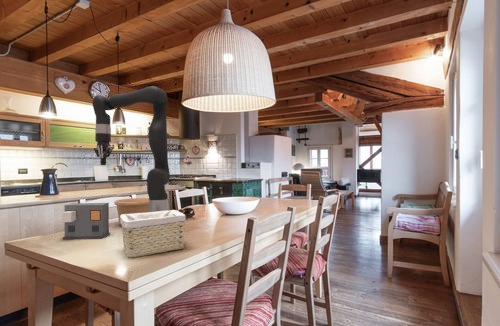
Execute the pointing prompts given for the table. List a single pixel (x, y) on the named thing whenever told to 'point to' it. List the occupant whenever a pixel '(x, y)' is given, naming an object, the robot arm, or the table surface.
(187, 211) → the pottery mug
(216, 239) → the table surface
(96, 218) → the orange paddle
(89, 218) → the switch box
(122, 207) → the pottery
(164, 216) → the storage basket
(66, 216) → the cream paddle
